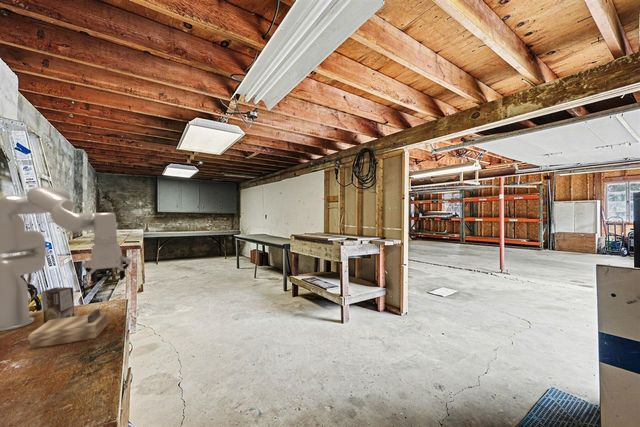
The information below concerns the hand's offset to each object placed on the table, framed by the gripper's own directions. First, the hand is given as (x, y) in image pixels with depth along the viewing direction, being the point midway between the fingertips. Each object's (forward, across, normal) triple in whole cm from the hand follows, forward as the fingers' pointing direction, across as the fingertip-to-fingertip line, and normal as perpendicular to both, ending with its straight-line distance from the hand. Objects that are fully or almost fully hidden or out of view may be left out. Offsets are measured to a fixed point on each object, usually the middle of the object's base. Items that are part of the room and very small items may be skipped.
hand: (108, 280), depth 118 cm
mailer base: (+21, -14, 0) cm, 25 cm away
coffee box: (+21, -25, +17) cm, 37 cm away
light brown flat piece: (+18, -13, 0) cm, 22 cm away
